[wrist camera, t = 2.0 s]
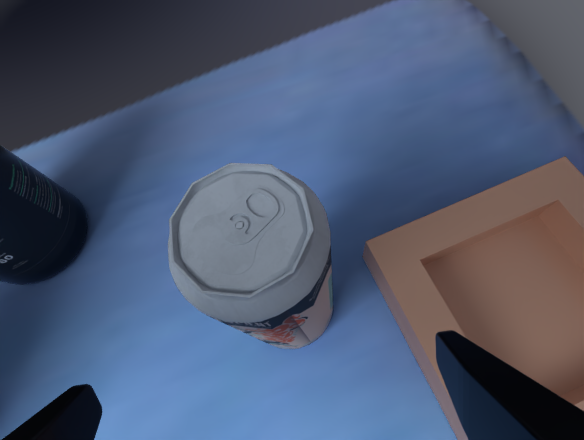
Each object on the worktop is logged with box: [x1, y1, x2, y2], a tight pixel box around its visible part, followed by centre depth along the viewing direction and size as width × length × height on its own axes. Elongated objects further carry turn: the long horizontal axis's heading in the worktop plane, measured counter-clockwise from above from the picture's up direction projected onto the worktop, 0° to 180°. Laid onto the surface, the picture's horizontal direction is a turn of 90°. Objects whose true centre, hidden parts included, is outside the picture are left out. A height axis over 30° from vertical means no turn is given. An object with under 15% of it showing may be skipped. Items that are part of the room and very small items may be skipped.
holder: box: [362, 156, 584, 440], centre depth 17 cm, size 12×12×3 cm
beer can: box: [168, 163, 333, 349], centre depth 15 cm, size 5×5×12 cm
